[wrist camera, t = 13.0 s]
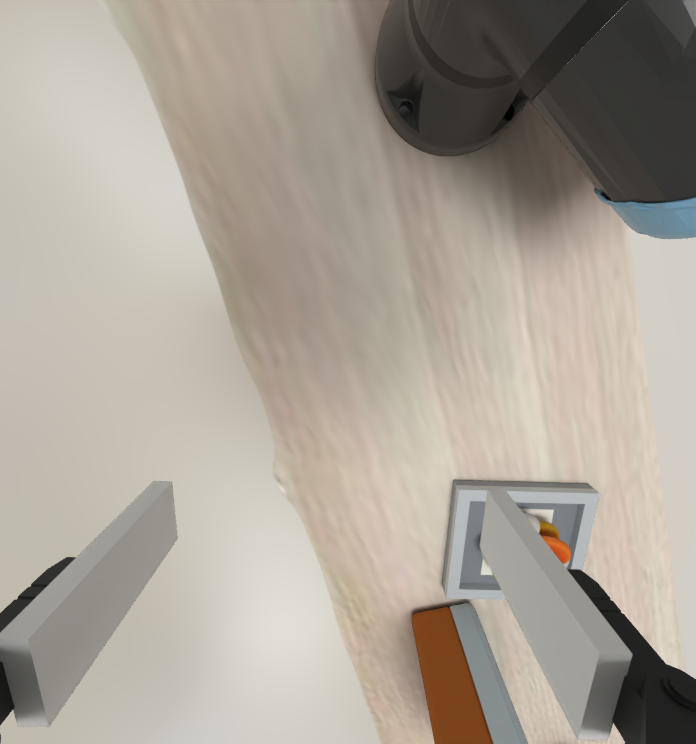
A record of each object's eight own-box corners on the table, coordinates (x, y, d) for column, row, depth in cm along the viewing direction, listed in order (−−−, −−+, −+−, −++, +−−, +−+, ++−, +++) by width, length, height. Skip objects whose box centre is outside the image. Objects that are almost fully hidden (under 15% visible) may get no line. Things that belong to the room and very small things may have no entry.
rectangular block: (408, 608, 49) (451, 832, 29) (471, 596, 48) (557, 815, 28) (433, 703, 53) (485, 956, 33) (490, 693, 52) (578, 944, 32)
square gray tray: (453, 479, 44) (459, 489, 42) (587, 483, 44) (599, 493, 42) (441, 584, 48) (446, 598, 45) (565, 587, 48) (575, 601, 46)
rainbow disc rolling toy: (567, 536, 44) (609, 583, 37) (509, 582, 46) (539, 636, 39) (523, 496, 43) (558, 537, 36) (466, 545, 45) (488, 593, 38)
